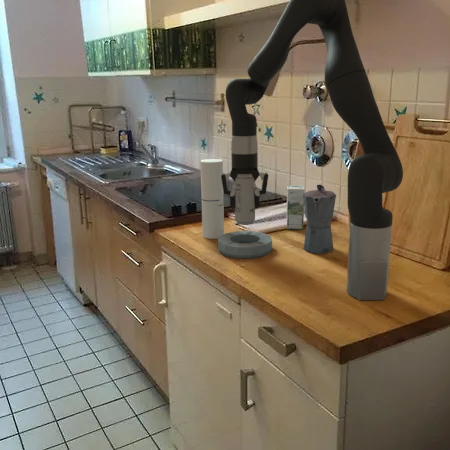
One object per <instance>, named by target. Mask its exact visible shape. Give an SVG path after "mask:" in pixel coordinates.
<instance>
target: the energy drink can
mask: <svg viewBox="0 0 450 450" xmlns="http://www.w3.org/2000/svg"><path fill="white" fill-rule="evenodd" d="M237 175H238V176H240V177H239V178H238V176H237V177H236V179H235V182H234V181H233V182H234V183H233V185H235V183H236V190H235V194H234V195H235V209H234V221H235V222H236V224H237V225H239V226H240V225H241V226H249V225H252V224H254V221H255V220H256V209H255V192H254V189H253V186H254V185H253V181H254V183H255V184H256V181H255V180H254V178H253V176H252V174H237ZM249 175H251V177H252V178H251V177H250V176H249Z"/></svg>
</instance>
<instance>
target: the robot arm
mask: <svg viewBox="0 0 450 450" xmlns="http://www.w3.org/2000/svg"><path fill="white" fill-rule="evenodd" d="M308 24H311V25H316V26H318V27H319V30H320V31H321V33H322V34H321V35H322V37H323V39H324V43H325V47H326V61H325V67H324V68H325V69H324V84H325V87H326V90H327V93H328V96H329V99H330V102H331V104H332V106H333V107H332V108H333V109H334V110H335V112H336V113H337V115H338V116H339V117H340V118H341V119H342V121H344V123H345V124H346V125H347V126H348V128H350V129H351V131H352V133H354V134H355V136H356V137H357V139H358V141H359V143H360V144H359V145H360V146H361V149H362V151H363V154H361V155H358V156H355V158H354V159H353V160H352V161H351V163H350V165H349V167H348V172H347V209H348V213H349V215H350V220H349V221H350V222H349V223H350V224H349V239H348V240H349V242H348V257H347V259H348V260H347V280H346V292H347V294H348V295H349V296H351V297H353V298H355V299H357V300H358V301H385V300H386V297H387V295H388V294H387V293H388V282H389V267H390V256H391V255H390V254H391V239H392V231H393V230H392V228H393V215H394V214H393V213H392V211H391V210H389V209H387V208H385V207H384V206H383V194H385V193H388V192H392V191H395V190H397V189H398V188H399V186H400V185H401V184H402V182H403V178H404V177H403V176H404V169H403V165H402V160H401V159H400V156H399V154H398V152H397V150H396V148H395V145H394V144H393V142H392V141H393V140H392V139H391V138H390V135H389V133H388V131H387V128H386V127H385V123H384V121H383V118H382V116H381V112H380V110H379V107H378V105H377V102H376V99H375V96H374V93H373V90H372V87H371V83H370V80H369V77H368V75H367V74H368V73H367V71H366V69H365V66H364V64H363V60H362V58H361V55H360V52H359V48H358V46H357V42H356V40H355V37H354V33H353V29H352V25H351V20H350V16H349V12H348V7H347V3H346V0H289V2H288V3H287V5H286V6H285V8H284V11H283V12H282V14H281V16H280V17H279V20H278V21H277V24H276V25H275V27H274V29H273V30H272V33H271V35H270V36H269V38H268V39H267V40H266V42H265V43H264V45H263V47H262V48H260V50H259V51H258V53H257V54H256V55H255V56H254V58H253V59H252V61H251V62H250V63H249V65H248V67H247V74H248V77H249V78H233V79H231V80H230V81H229V82H228V83H227V85H226V89H225V100H226V104H227V108H228V111H229V115H230V119H231V136H232V137H231V144H230V147H231V148H230V151H231V153H230V154H231V158H230V159H231V170H230V172H229V173H224V172H223V173H222V174H221V179H222V185H223V195H226V196H229V206H230V207H231V208H232V209H234V210H235V190H236V183H235V185H234V184H232V186H231V190H230V189H228V181H229V180H230V179H229V178H231V179H232V180H233V182H235V179H236V177H237V176H238V175H237V174H252V176H253V178H254V180H255V183H254V181H253V185H254V186H253V189H254V192H255V210H256V209H258V207H260V205H261V204H260V199H261V198H260V196H261V195H266V194H267V189H268V181H269V173H267V172H259V168H258V167H259V166H258V165H259V163H258V161H259V159H258V156H259V155H258V154H259V153H258V150H259V149H258V148H259V147H258V143H259V142H258V135H257V134H258V133H257V131H258V129H257V127H258V122H257V116H256V115H255V114H253V113H250V112H248V109H247V105H250V106H251V105H254V104H257V103H258V102H259V101H260V100H261V99H262V98H263V97H264V95H265V93H266V91H267V90H268V86H269V85H270V82H271V80H272V79H273V78H274V77H275V75H277V73H278V72H279V71H280V70H281V69H282V68H283V66H284V65H285V62H286V61H287V59H288V57H289V52H290V50H291V49H290V48H291V44H292V42H293V40H294V38H295V37H296V35H298V33H299V32H300V31H301V30H302V29H303V28H304V27H305V26H306V25H308ZM249 176H250V177H251V175H249ZM239 177H240V176H238V178H239ZM259 177H260V180H261V181H262V184H261V189H259V188H258V186H257V184H256V181H257V179H258V178H259ZM251 178H252V177H251Z"/></svg>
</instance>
